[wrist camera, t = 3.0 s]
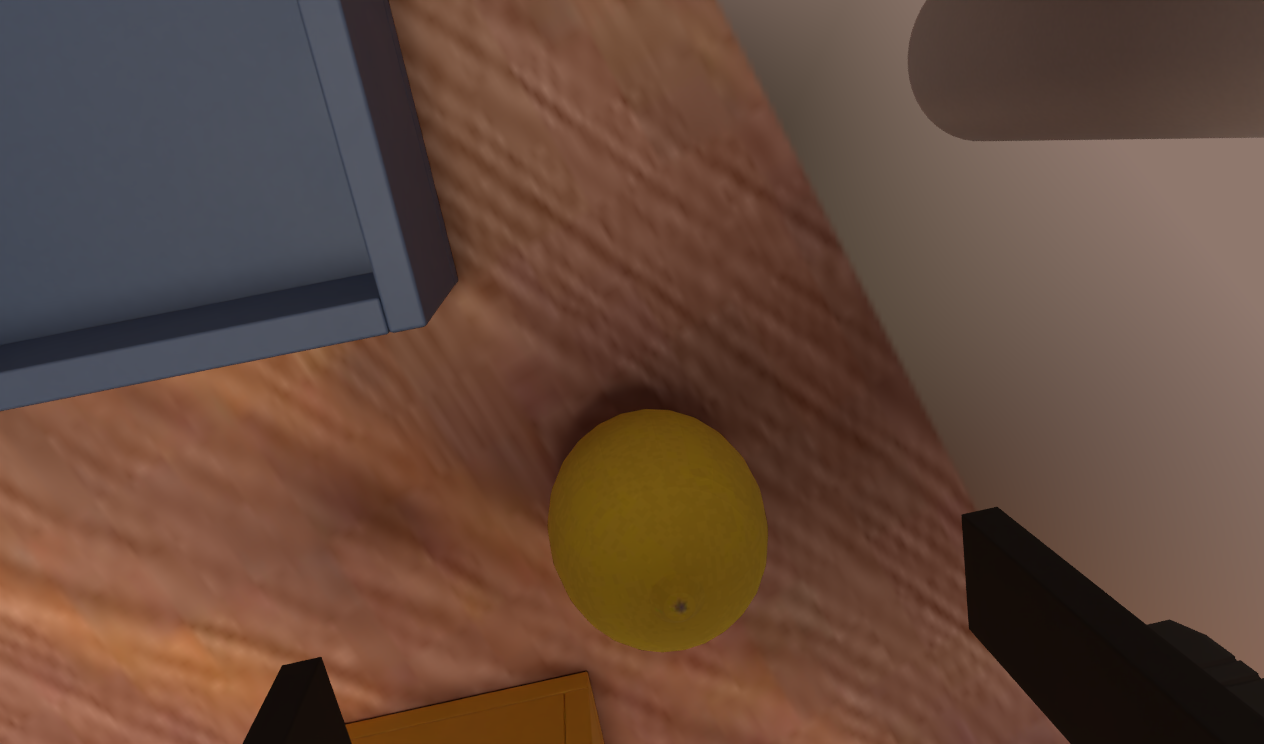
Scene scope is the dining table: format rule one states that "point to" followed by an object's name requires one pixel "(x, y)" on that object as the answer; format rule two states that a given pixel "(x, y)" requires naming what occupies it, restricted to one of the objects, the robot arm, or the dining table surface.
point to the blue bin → (205, 188)
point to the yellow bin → (496, 718)
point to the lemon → (658, 530)
